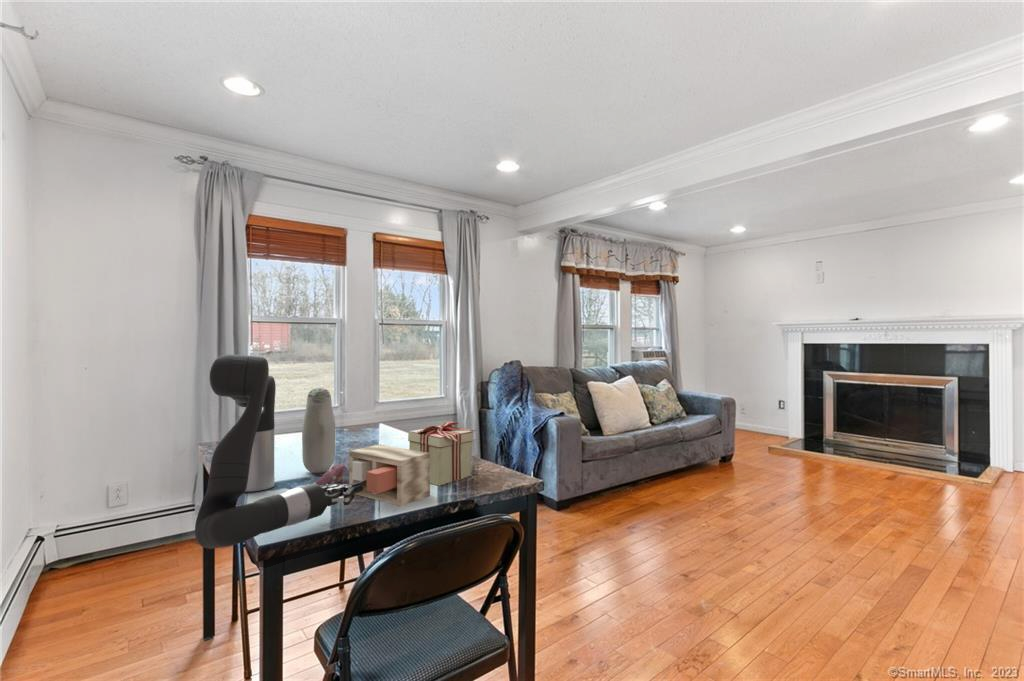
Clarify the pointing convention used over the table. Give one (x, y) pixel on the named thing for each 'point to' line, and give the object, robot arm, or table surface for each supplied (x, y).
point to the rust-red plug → (382, 479)
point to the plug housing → (409, 473)
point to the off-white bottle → (318, 432)
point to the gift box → (445, 451)
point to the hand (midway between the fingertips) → (361, 485)
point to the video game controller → (332, 475)
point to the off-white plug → (361, 469)
